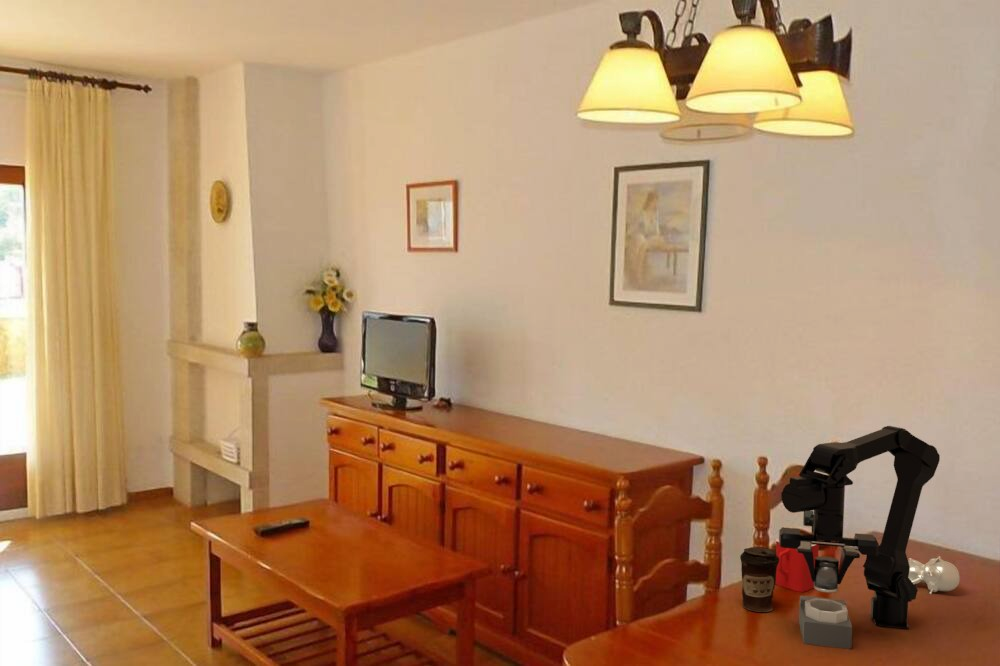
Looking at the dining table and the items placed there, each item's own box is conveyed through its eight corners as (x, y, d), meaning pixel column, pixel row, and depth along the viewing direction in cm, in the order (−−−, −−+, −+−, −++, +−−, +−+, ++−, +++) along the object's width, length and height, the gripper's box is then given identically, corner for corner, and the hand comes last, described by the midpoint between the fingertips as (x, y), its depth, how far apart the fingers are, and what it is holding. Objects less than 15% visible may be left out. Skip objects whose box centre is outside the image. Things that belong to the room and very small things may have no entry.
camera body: (843, 626, 188) (845, 596, 187) (851, 649, 176) (852, 617, 176) (798, 621, 190) (800, 591, 189) (803, 643, 178) (804, 611, 178)
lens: (836, 586, 183) (837, 557, 183) (838, 593, 179) (840, 564, 178) (812, 583, 184) (813, 555, 184) (814, 591, 180) (815, 562, 179)
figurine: (893, 545, 220) (956, 548, 209) (906, 562, 223) (968, 566, 212) (883, 582, 215) (946, 587, 203) (896, 599, 217) (959, 605, 206)
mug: (789, 577, 219) (791, 534, 218) (820, 586, 212) (822, 542, 212) (762, 587, 211) (763, 543, 210) (793, 597, 205) (795, 551, 204)
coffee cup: (779, 617, 192) (781, 558, 191) (739, 613, 194) (742, 555, 193) (775, 602, 201) (777, 546, 200) (737, 599, 202) (739, 543, 201)
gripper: (872, 501, 186) (869, 574, 187) (779, 494, 191) (776, 565, 192) (880, 515, 175) (877, 592, 176) (781, 507, 180) (778, 582, 181)
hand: (826, 582), depth 181 cm, fingers closed on lens, 5 cm apart
